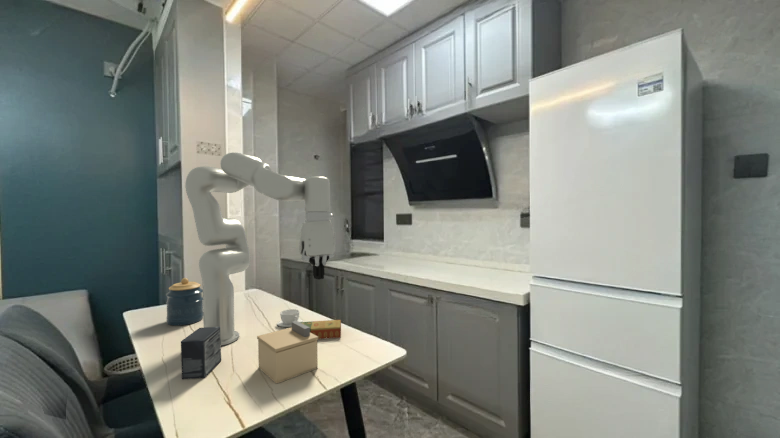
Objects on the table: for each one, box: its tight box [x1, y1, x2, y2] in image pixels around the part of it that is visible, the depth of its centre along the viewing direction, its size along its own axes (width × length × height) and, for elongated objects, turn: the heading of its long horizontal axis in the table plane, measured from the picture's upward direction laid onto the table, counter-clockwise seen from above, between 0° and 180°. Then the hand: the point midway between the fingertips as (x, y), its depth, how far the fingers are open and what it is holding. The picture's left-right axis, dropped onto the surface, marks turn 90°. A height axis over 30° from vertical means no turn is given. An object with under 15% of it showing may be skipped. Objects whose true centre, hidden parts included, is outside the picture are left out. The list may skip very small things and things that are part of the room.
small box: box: [180, 327, 222, 380], centre depth 93 cm, size 11×6×10 cm, turn 5°
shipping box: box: [257, 339, 319, 384], centre depth 94 cm, size 12×12×8 cm
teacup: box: [276, 309, 304, 328], centre depth 132 cm, size 10×10×5 cm
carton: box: [300, 319, 342, 340], centre depth 119 cm, size 8×16×4 cm, turn 98°
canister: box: [165, 277, 203, 326], centre depth 135 cm, size 13×13×18 cm
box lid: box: [256, 321, 319, 352], centre depth 93 cm, size 12×12×3 cm
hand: (318, 278), depth 100 cm, fingers closed
